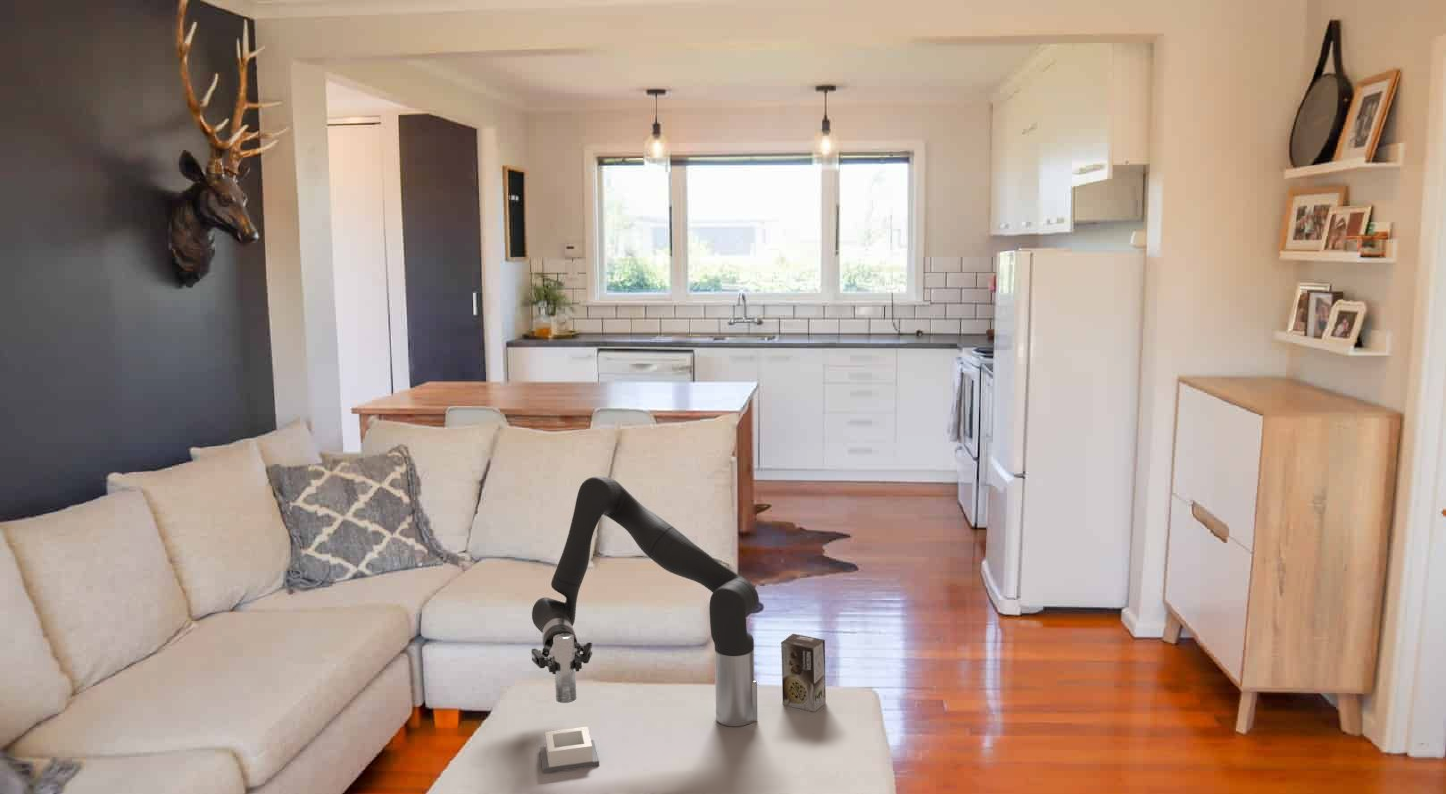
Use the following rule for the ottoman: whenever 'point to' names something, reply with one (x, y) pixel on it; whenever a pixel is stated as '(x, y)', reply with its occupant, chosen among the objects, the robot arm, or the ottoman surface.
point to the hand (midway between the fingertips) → (565, 668)
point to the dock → (568, 750)
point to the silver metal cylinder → (564, 667)
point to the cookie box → (803, 672)
